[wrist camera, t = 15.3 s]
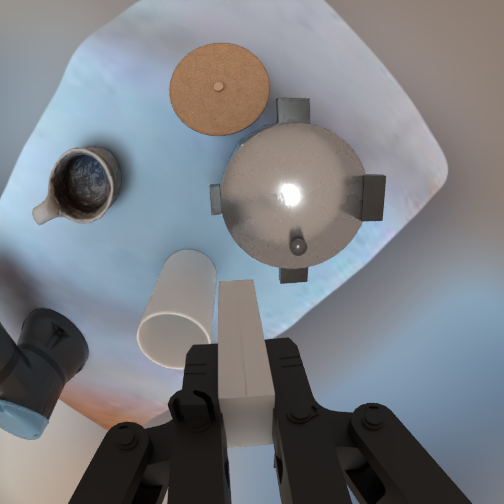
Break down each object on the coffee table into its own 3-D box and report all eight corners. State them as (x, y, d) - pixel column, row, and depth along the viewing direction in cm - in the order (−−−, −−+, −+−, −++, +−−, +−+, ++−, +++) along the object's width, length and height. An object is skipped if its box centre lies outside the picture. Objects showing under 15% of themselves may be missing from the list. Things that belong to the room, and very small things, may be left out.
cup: (216, 249, 44) (209, 313, 30) (217, 297, 48) (212, 371, 33) (160, 249, 44) (130, 310, 29) (165, 296, 47) (143, 367, 32)
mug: (143, 182, 40) (119, 200, 31) (86, 232, 42) (55, 260, 33) (104, 129, 36) (70, 133, 27) (50, 185, 38) (13, 203, 29)
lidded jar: (210, 149, 39) (203, 156, 30) (165, 87, 35) (146, 77, 26) (278, 106, 37) (292, 101, 28) (234, 43, 33) (234, 21, 24)
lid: (226, 268, 34) (226, 275, 33) (216, 125, 28) (215, 125, 26) (373, 259, 35) (378, 264, 33) (382, 127, 29) (389, 127, 27)
